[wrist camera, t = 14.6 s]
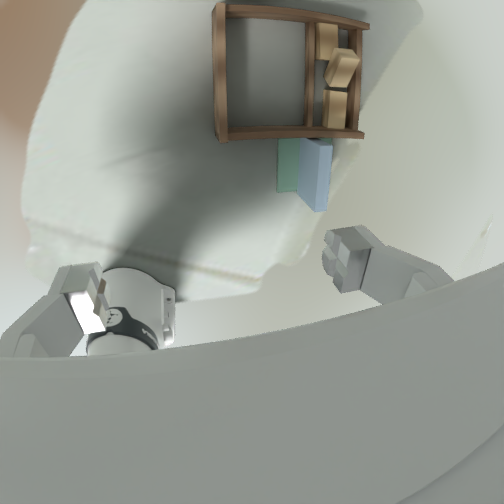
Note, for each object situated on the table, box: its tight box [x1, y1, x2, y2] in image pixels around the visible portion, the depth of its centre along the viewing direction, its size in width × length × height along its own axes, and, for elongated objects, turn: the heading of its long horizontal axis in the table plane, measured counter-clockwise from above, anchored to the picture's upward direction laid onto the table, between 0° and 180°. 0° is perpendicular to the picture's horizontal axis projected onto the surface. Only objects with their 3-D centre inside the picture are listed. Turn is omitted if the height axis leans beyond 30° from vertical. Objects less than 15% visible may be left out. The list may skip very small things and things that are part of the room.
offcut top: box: [324, 48, 360, 87], centre depth 35 cm, size 6×3×2 cm
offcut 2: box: [321, 90, 347, 129], centre depth 40 cm, size 6×3×2 cm, turn 179°
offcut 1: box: [314, 23, 338, 61], centre depth 34 cm, size 6×3×2 cm, turn 2°
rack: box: [212, 3, 370, 143], centre depth 34 cm, size 19×22×6 cm
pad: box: [277, 138, 332, 193], centre depth 45 cm, size 9×9×1 cm
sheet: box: [297, 138, 333, 212], centre depth 42 cm, size 10×2×7 cm, turn 0°
